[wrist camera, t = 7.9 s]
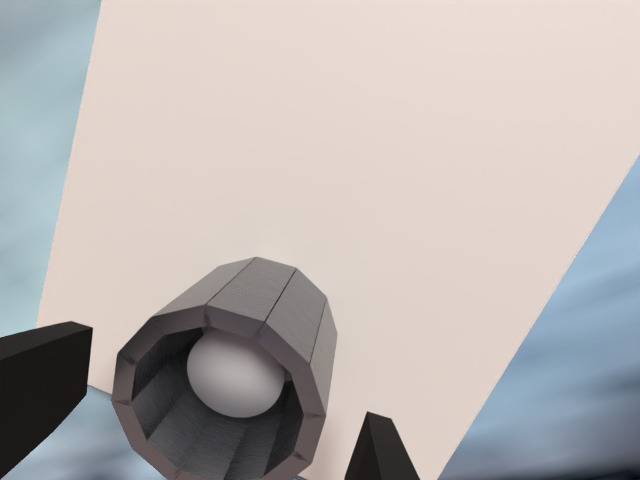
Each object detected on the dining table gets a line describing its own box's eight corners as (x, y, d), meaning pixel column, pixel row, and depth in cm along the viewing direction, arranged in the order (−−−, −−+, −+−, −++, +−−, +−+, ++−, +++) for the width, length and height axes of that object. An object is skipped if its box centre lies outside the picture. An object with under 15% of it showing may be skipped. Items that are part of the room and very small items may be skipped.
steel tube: (352, 283, 12) (348, 345, 8) (314, 413, 13) (294, 522, 9) (202, 241, 12) (125, 281, 8) (179, 372, 13) (103, 461, 9)
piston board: (848, -223, 8) (1155, -464, 5) (406, 503, 14) (419, 603, 11) (222, -462, 9) (139, -826, 5) (46, 347, 15) (-42, 401, 11)
